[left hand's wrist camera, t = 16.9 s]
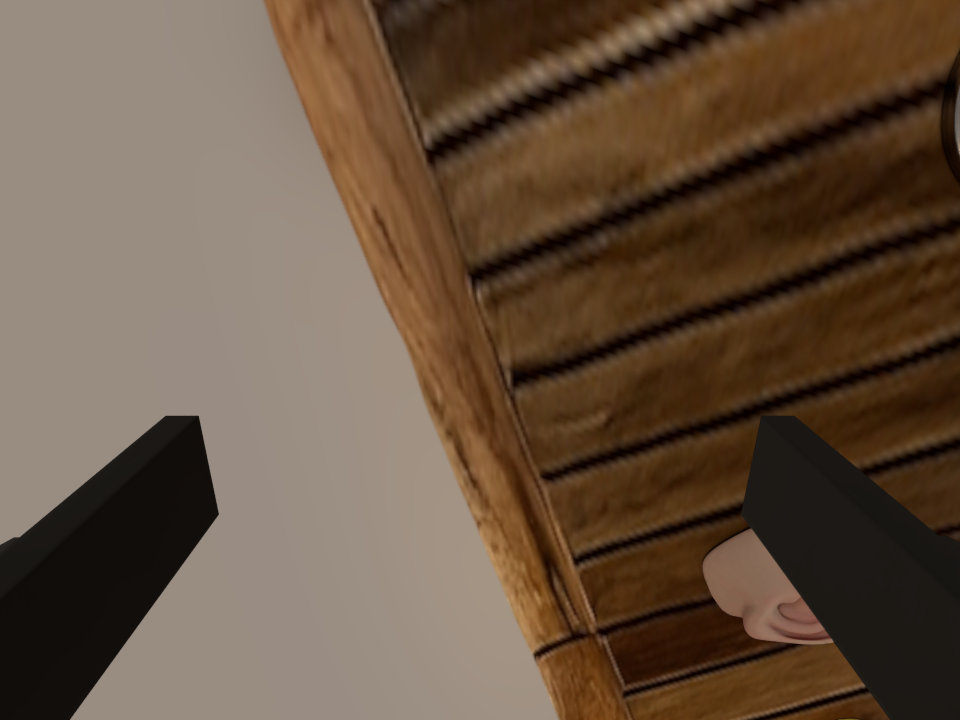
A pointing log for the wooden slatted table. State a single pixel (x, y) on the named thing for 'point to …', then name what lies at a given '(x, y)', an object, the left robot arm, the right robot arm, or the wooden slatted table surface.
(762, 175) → the wooden slatted table surface
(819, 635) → the anatomical model
